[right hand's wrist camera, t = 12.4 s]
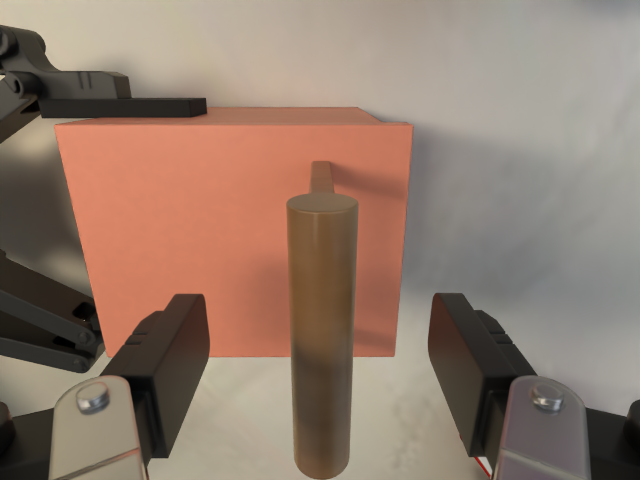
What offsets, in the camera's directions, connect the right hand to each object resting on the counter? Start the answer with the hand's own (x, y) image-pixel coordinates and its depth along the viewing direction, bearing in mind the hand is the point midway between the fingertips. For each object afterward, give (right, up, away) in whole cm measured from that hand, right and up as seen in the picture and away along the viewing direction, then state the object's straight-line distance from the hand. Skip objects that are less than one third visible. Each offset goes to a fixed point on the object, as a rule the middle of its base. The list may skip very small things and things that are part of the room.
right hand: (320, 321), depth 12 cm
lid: (-3, +2, +6) cm, 7 cm away
